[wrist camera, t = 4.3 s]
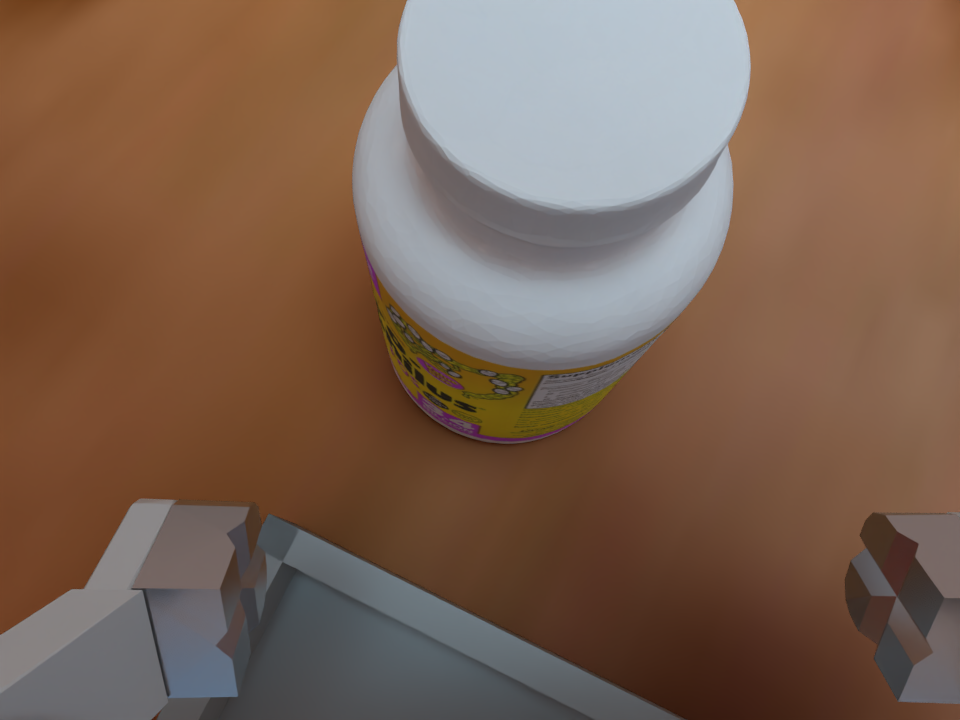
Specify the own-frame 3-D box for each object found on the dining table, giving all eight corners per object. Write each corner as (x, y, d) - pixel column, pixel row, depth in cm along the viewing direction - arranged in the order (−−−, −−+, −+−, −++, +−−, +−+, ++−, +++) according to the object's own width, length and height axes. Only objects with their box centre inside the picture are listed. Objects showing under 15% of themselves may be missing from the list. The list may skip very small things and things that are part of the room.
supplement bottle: (351, 278, 23) (241, -77, 11) (555, 195, 24) (675, -217, 12) (444, 490, 21) (446, 368, 9) (659, 393, 22) (926, 162, 10)
